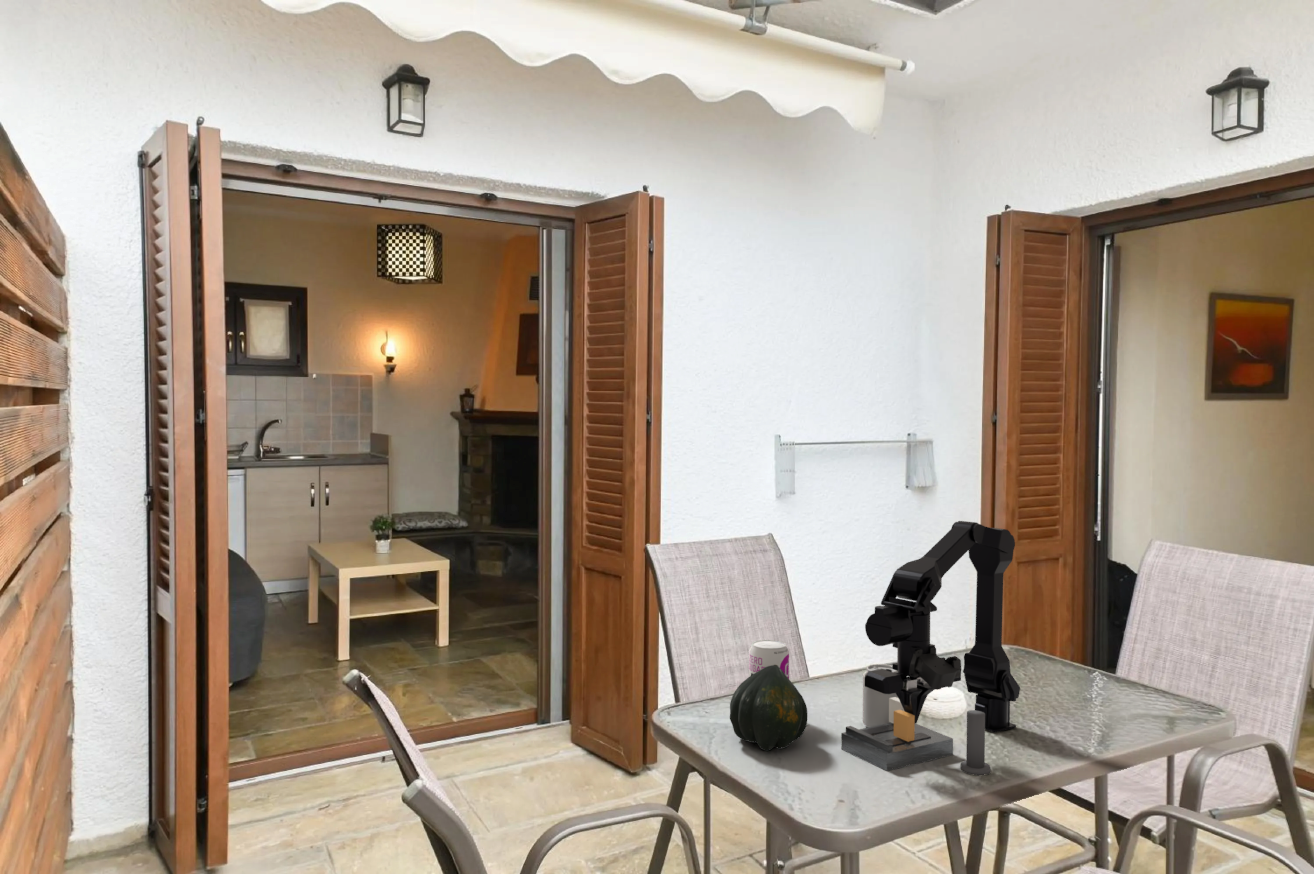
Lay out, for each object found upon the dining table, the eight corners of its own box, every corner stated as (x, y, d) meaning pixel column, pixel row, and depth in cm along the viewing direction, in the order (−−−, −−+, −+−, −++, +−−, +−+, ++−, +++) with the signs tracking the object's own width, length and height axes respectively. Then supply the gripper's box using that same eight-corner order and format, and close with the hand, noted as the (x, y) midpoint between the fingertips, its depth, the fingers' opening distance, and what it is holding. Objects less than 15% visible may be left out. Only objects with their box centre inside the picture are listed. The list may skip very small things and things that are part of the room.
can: (902, 734, 177) (903, 673, 176) (862, 732, 178) (863, 671, 178) (900, 722, 184) (900, 663, 184) (862, 719, 185) (862, 661, 185)
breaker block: (905, 734, 177) (905, 713, 177) (952, 754, 166) (953, 731, 166) (841, 748, 169) (841, 726, 169) (886, 770, 158) (886, 746, 158)
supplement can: (793, 713, 189) (793, 641, 189) (781, 725, 182) (782, 650, 182) (756, 708, 193) (756, 637, 192) (743, 719, 185) (743, 646, 185)
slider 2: (900, 733, 167) (900, 709, 167) (914, 740, 164) (914, 715, 164) (893, 735, 166) (893, 710, 166) (907, 741, 163) (908, 716, 163)
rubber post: (974, 762, 162) (974, 706, 162) (996, 771, 158) (997, 714, 158) (954, 767, 160) (954, 711, 160) (976, 777, 156) (977, 719, 155)
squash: (729, 730, 163) (781, 664, 165) (705, 708, 177) (754, 647, 180) (786, 778, 165) (836, 712, 168) (757, 752, 180) (804, 692, 182)
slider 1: (895, 720, 175) (895, 696, 174) (908, 725, 171) (908, 701, 171) (888, 721, 174) (889, 697, 174) (902, 727, 171) (902, 703, 171)
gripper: (907, 653, 154) (906, 745, 154) (985, 641, 163) (984, 727, 163) (862, 639, 164) (862, 725, 164) (938, 628, 173) (937, 710, 173)
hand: (913, 722), depth 166 cm, fingers closed
